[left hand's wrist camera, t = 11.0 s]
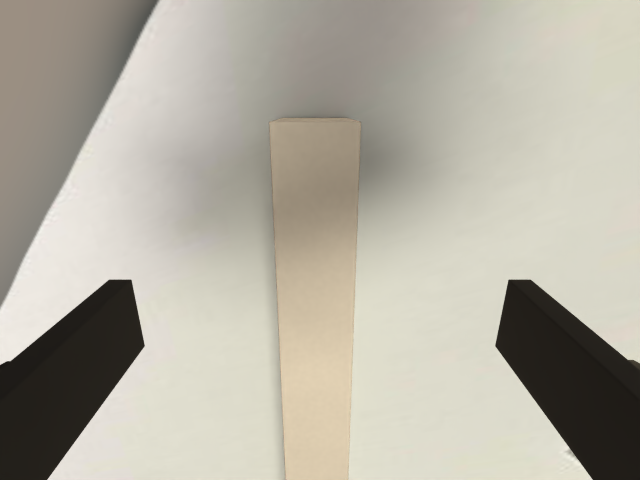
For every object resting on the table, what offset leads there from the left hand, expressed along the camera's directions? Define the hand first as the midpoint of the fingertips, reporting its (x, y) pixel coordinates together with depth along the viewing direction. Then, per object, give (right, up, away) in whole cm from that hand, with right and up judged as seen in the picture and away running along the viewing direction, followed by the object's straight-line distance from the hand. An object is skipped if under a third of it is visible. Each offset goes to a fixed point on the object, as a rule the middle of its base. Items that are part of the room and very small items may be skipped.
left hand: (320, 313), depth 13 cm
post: (0, -22, +27) cm, 35 cm away
